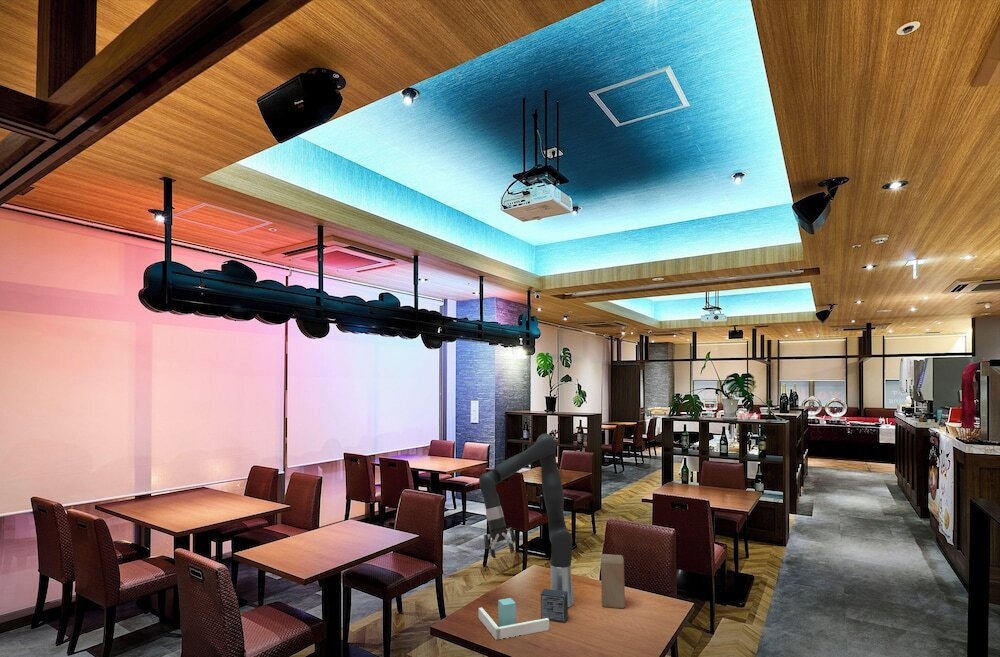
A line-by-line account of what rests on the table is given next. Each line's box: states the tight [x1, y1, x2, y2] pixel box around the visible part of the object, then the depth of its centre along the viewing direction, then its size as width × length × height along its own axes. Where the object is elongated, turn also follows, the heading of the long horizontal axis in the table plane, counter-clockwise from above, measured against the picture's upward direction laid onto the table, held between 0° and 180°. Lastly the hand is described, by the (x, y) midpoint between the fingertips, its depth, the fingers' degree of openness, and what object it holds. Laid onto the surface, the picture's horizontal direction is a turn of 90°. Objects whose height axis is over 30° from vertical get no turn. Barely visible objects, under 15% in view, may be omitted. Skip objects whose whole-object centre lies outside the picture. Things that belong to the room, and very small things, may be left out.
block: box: [600, 553, 626, 609], centre depth 238 cm, size 10×10×20 cm
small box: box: [540, 588, 569, 624], centre depth 224 cm, size 11×6×10 cm, turn 71°
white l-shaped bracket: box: [478, 607, 550, 641], centre depth 218 cm, size 23×21×4 cm
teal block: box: [497, 597, 517, 627], centre depth 215 cm, size 6×6×10 cm
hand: (503, 555), depth 234 cm, fingers open, 8 cm apart
